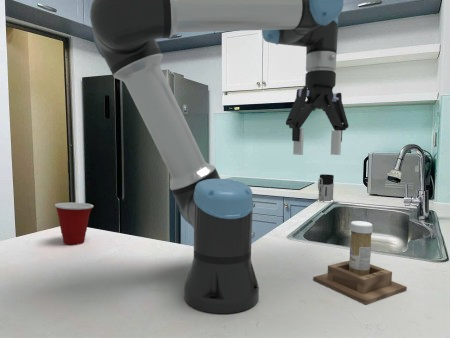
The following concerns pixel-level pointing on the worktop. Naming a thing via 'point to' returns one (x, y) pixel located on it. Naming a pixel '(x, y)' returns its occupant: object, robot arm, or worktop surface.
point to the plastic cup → (73, 221)
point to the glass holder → (326, 187)
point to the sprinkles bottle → (360, 247)
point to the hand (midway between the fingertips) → (317, 154)
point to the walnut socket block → (360, 283)
